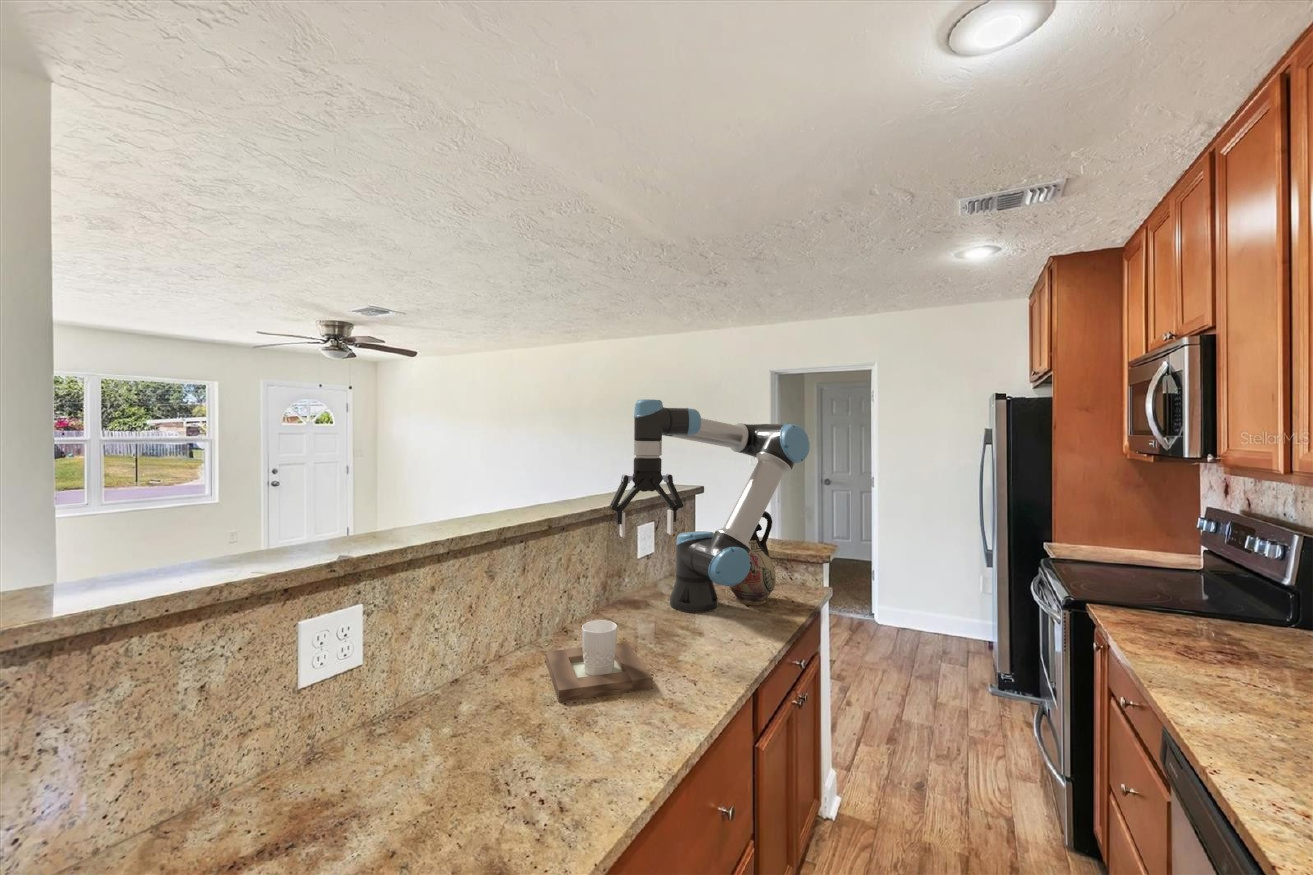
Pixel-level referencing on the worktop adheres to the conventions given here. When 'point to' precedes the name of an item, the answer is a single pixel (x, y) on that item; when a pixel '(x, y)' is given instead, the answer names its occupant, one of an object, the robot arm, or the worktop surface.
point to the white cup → (599, 646)
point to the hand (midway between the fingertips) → (646, 535)
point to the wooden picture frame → (580, 685)
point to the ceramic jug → (757, 570)
